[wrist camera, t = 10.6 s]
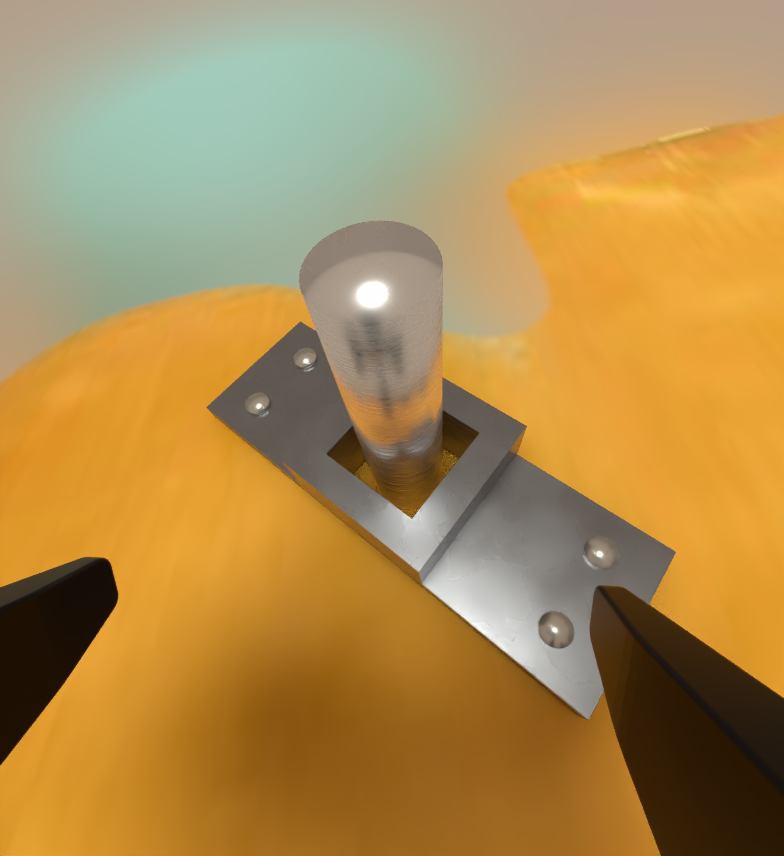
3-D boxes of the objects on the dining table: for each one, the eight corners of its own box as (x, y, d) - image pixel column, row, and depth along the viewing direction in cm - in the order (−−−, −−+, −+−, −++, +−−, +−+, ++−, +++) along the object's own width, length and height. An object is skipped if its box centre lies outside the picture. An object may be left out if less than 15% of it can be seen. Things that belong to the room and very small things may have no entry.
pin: (453, 493, 22) (468, 289, 10) (389, 520, 22) (323, 344, 10) (425, 437, 24) (408, 205, 12) (366, 461, 24) (283, 248, 11)
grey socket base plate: (665, 556, 20) (714, 534, 16) (580, 716, 17) (616, 732, 14) (304, 331, 29) (285, 286, 25) (214, 415, 26) (179, 378, 23)
